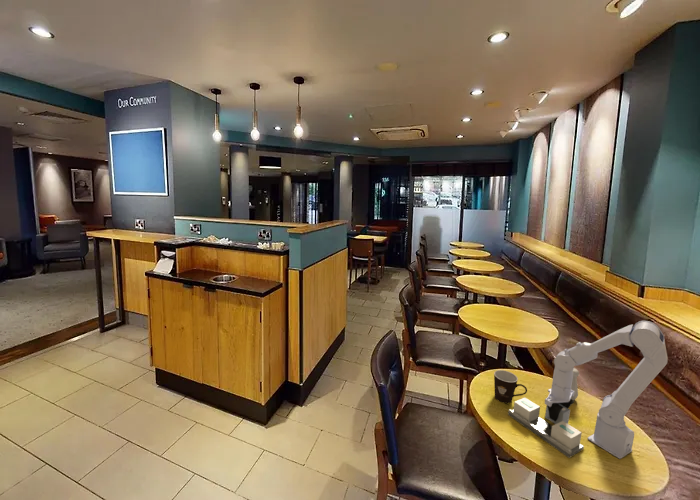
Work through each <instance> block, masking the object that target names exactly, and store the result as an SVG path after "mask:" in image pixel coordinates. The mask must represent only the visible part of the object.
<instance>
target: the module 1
mask: <svg viewBox="0 0 700 500" xmlns="http://www.w3.org/2000/svg"><path fill="white" fill-rule="evenodd" d="M512 410H513V411H514V412H515V413H517V414H518V415H520V416H521V417H523V418H524V419H526V420H527V421H529V422H531V421H533V420H535V419H537V418H539V417H540V410H541V406H540V405H538V404H536V403H535V402H533V401H531V400H530V399H528V398H527V397H522V398H520V399H518V400H515V401H514V403H513V409H512Z"/></svg>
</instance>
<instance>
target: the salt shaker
mask: <svg viewBox="0 0 700 500" xmlns="http://www.w3.org/2000/svg"><path fill="white" fill-rule="evenodd" d="M579 375H580V372H579V370H578V369H577V368H576V367H574V369H573V380H572V386H571V390H573V391H574V396H572V397H571V399H572V400H573V401H575V400H577V398H578V397H579V390H578V378H579ZM577 377H578V378H577Z"/></svg>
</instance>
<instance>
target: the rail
mask: <svg viewBox="0 0 700 500" xmlns="http://www.w3.org/2000/svg"><path fill="white" fill-rule="evenodd" d="M507 410H508V411H507V416H509V417H510V418H511V419H513V420H515V421H516V422H517V423H519V425H522V426H523V427H524V428H525V429H527V430H528V431H530V432H531V433H533V434H535V436H538V437H539V438H540V439H542V440H543V441H545V443H548V445H550V446H551V447H553V448H554V449H556V450H557V451H559V452H560V453H562V454H563V455H564V456H565V457H567V458H568V459H569V458H572V457H574V456H575V455H576V454H578V453H580V452H581V451H583V450H584V448H585V446H584V445H583V444H581V443H580V445H578V446H576V447H575V448H573V449H571V450H570V449H568V448H567V447H565V446H564V445H562V444H561V443H559V442H558V441H556V440H555V439H553V438H552V437H551V430H552V426H553V425H552V424H550V423H549V422H547V421H546V420H545V419H543V418H541V417H540V416H539V418H537V419H535V420H533V421H531V422H529V421H527V420H526V419H524V418H523V417H521V416H520V415H518V414H517V413H515V412H514V411H513V410H514V409H511V408H509V409H507Z"/></svg>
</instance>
